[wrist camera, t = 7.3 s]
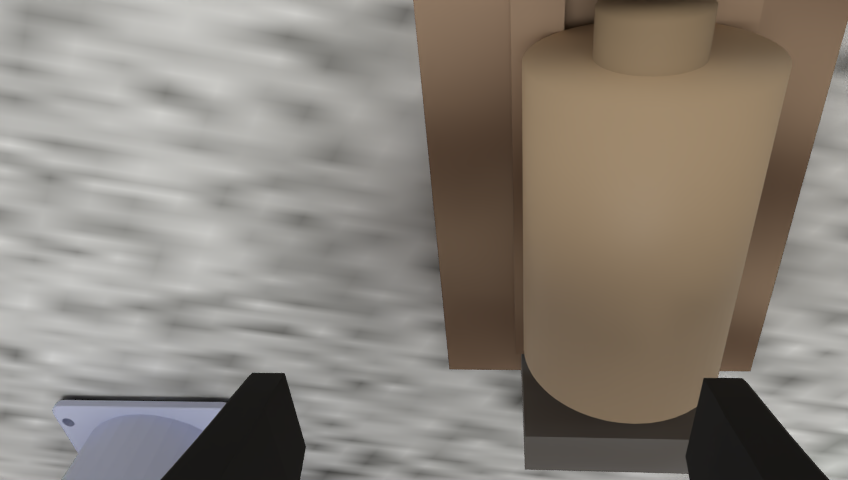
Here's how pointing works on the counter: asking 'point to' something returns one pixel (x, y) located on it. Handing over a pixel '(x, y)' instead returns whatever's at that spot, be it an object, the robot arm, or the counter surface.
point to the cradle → (503, 202)
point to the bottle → (641, 200)
